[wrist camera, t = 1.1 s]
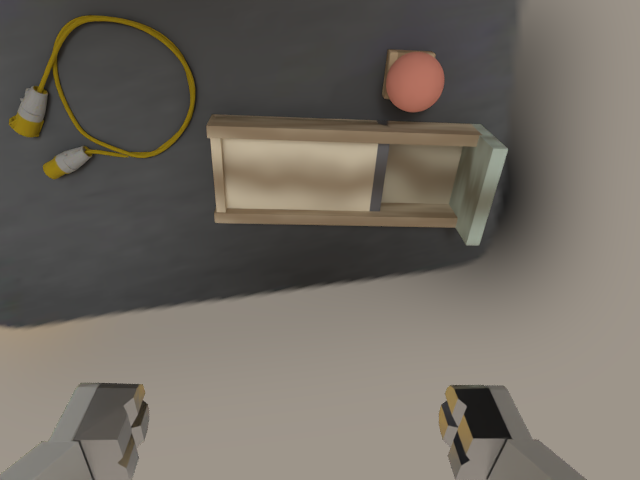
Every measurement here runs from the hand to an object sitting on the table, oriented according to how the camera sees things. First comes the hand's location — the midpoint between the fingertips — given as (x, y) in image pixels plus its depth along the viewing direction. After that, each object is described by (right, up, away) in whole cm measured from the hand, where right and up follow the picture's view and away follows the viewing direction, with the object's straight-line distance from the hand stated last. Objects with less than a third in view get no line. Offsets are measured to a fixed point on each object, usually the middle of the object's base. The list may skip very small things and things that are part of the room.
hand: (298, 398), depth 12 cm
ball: (+8, +16, +22) cm, 28 cm away
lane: (+2, +11, +29) cm, 31 cm away
